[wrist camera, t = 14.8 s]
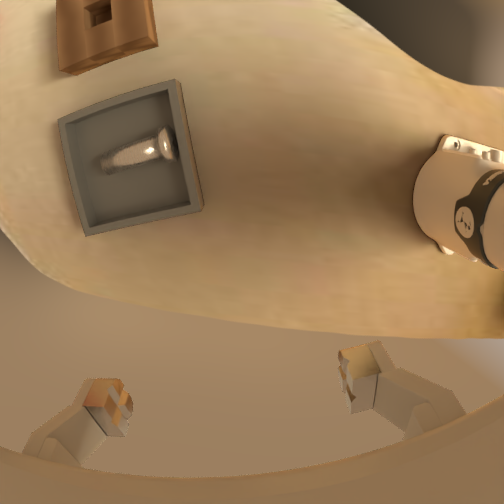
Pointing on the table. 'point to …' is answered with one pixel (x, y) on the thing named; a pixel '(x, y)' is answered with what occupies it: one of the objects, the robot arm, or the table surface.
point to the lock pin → (142, 152)
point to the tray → (137, 178)
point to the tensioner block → (102, 32)
